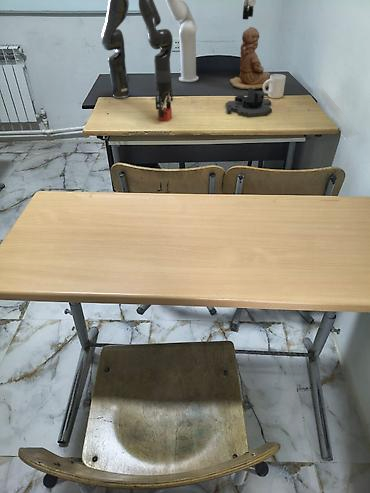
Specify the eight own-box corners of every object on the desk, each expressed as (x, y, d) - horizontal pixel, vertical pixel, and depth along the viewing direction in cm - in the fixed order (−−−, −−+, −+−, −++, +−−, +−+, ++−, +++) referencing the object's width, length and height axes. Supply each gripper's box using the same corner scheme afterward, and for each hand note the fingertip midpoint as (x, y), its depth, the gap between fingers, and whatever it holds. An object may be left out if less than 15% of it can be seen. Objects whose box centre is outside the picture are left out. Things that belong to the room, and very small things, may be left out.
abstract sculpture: (232, 99, 169) (222, 86, 184) (231, 118, 175) (221, 105, 190) (283, 94, 172) (268, 83, 187) (280, 114, 178) (266, 101, 193)
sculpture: (274, 90, 207) (281, 30, 187) (232, 91, 207) (235, 31, 188) (266, 76, 228) (272, 21, 208) (228, 77, 228) (231, 23, 209)
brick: (167, 121, 175) (167, 111, 172) (158, 119, 177) (157, 110, 174) (172, 117, 179) (171, 108, 176) (162, 116, 180) (162, 107, 177)
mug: (263, 99, 195) (266, 79, 188) (259, 94, 201) (261, 75, 194) (285, 97, 196) (288, 77, 189) (279, 93, 202) (282, 73, 196)
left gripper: (163, 84, 160) (166, 120, 170) (176, 75, 170) (177, 110, 180) (148, 83, 162) (152, 118, 172) (162, 74, 172) (164, 108, 182)
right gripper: (253, -18, 186) (250, 20, 197) (261, -21, 198) (257, 15, 209) (239, -18, 188) (237, 20, 199) (247, -21, 200) (245, 15, 211)
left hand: (165, 114), depth 176 cm, fingers open, 8 cm apart
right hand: (247, 17), depth 204 cm, fingers open, 9 cm apart
